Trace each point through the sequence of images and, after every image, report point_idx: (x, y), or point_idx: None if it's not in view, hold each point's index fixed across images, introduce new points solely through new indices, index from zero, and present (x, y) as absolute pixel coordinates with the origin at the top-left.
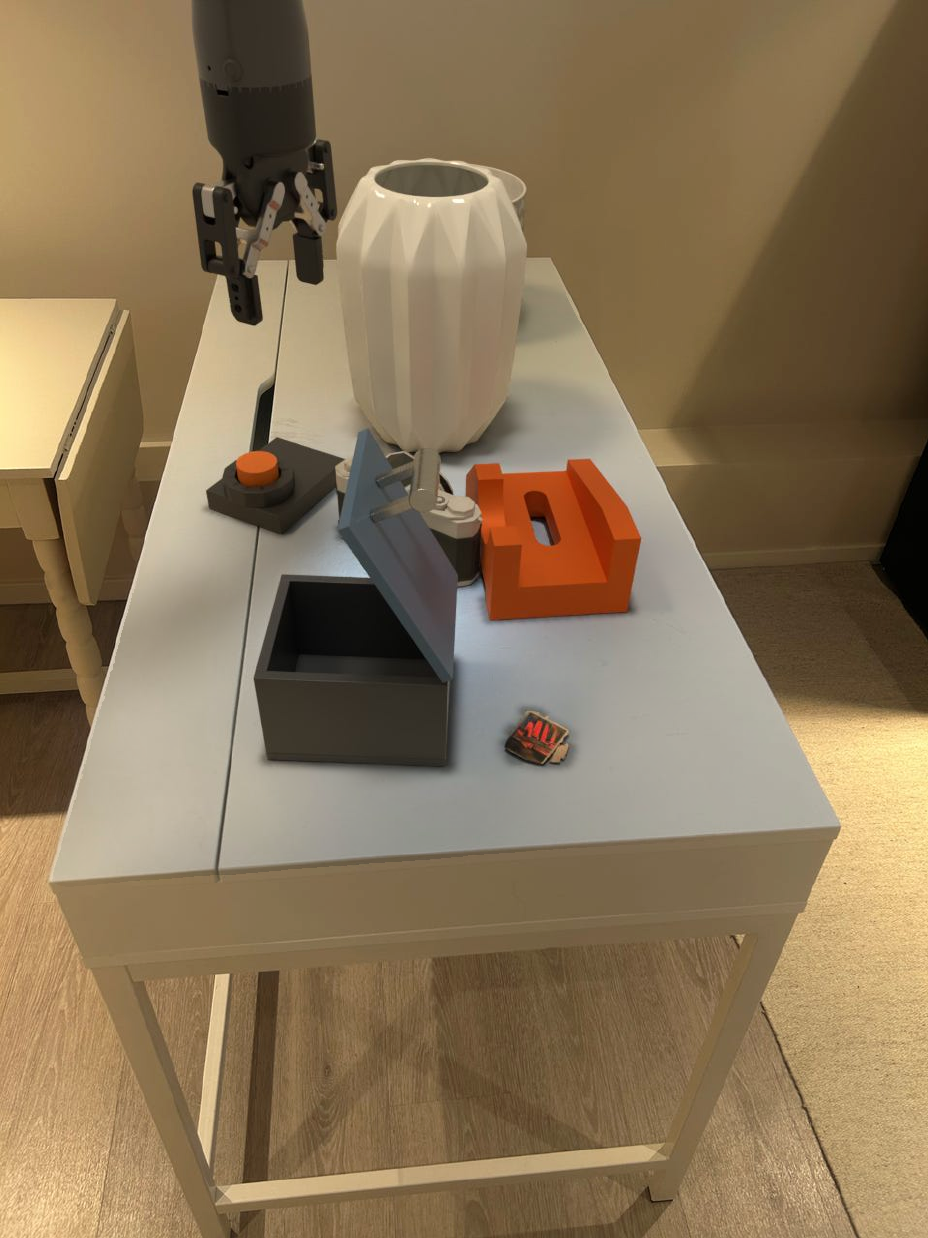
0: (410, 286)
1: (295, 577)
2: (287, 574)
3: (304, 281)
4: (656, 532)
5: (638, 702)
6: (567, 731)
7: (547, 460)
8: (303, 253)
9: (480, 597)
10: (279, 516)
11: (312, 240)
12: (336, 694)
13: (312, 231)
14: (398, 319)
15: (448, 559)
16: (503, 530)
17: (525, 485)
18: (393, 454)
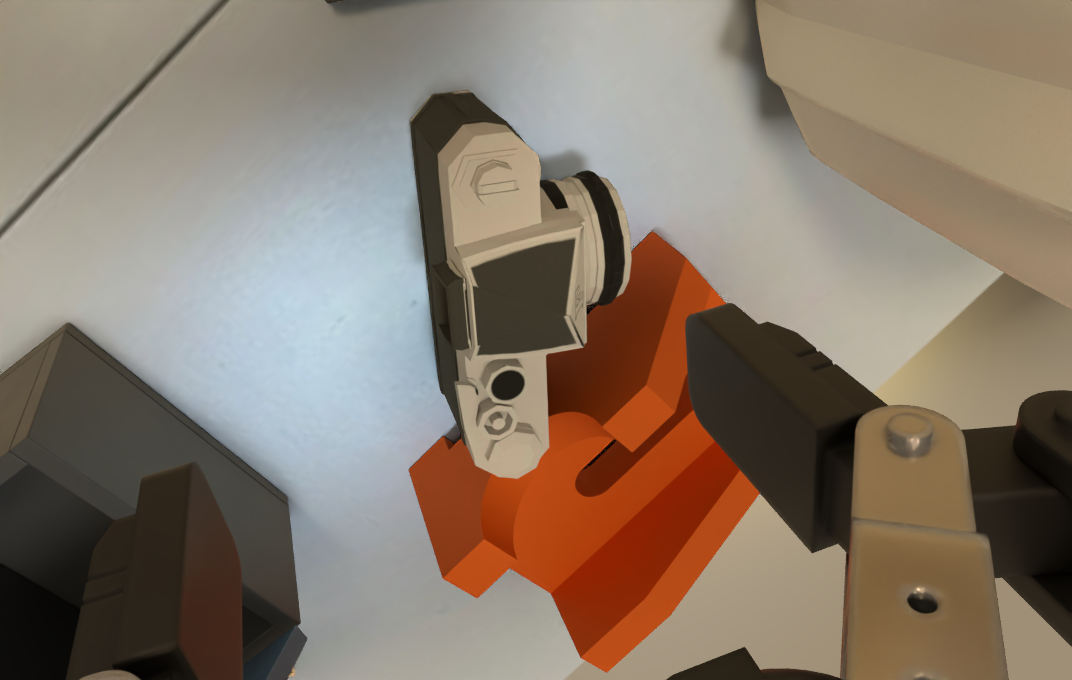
0: (1063, 212)
1: (46, 464)
2: (38, 445)
3: (686, 345)
4: None
5: (408, 671)
6: (292, 674)
7: (853, 243)
8: (760, 428)
9: (445, 424)
10: (328, 2)
11: (807, 531)
12: None
13: (846, 556)
14: (980, 109)
15: (297, 658)
16: (491, 557)
17: None
18: (572, 254)
